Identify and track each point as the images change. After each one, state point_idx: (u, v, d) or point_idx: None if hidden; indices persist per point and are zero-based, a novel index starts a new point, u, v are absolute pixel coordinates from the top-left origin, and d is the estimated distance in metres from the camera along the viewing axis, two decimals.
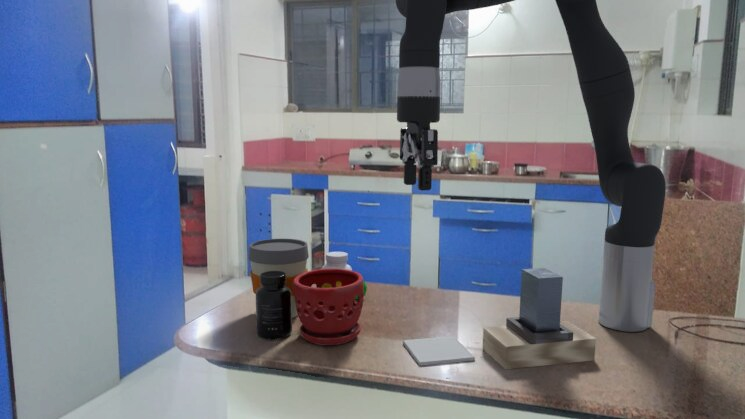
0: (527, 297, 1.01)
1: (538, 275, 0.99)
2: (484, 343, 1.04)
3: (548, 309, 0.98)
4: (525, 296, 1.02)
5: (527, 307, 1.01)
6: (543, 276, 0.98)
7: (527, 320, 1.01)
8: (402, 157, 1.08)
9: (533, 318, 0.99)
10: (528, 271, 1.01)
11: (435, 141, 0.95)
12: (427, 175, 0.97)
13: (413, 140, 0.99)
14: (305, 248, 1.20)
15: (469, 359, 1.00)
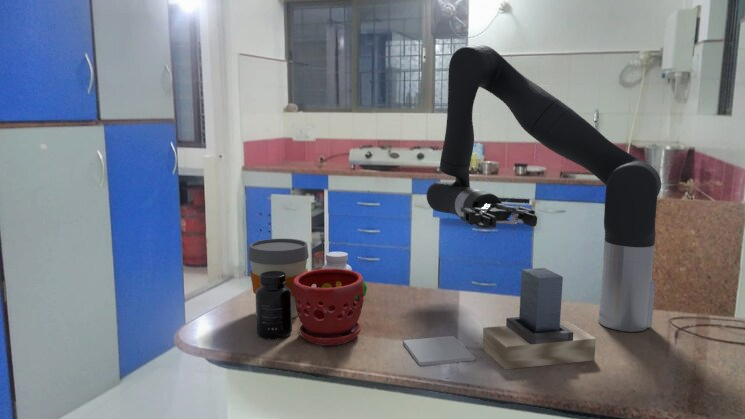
0: (527, 297, 1.01)
1: (538, 275, 0.99)
2: (484, 343, 1.04)
3: (548, 309, 0.98)
4: (525, 296, 1.02)
5: (527, 307, 1.01)
6: (543, 276, 0.98)
7: (527, 320, 1.01)
8: None
9: (533, 318, 0.99)
10: (528, 271, 1.01)
11: (463, 210, 1.16)
12: (483, 219, 1.11)
13: None
14: (305, 248, 1.20)
15: (469, 359, 1.00)
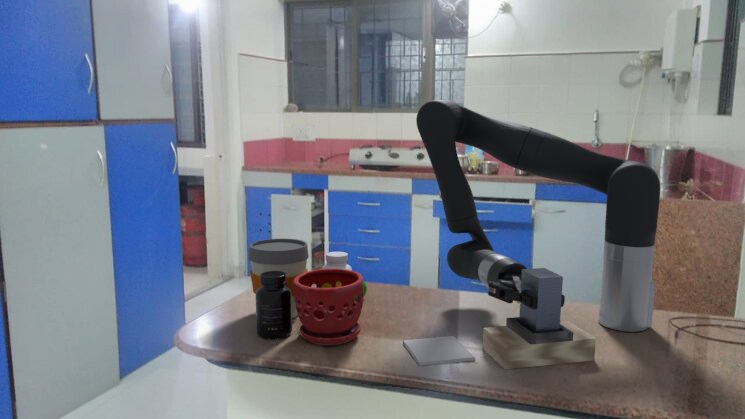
0: None
1: (538, 275, 0.99)
2: (484, 343, 1.04)
3: (548, 309, 0.98)
4: None
5: (527, 307, 1.01)
6: (543, 276, 0.98)
7: (527, 320, 1.01)
8: None
9: (533, 318, 0.99)
10: (528, 271, 1.01)
11: (494, 286, 1.05)
12: (522, 298, 1.00)
13: None
14: (305, 248, 1.20)
15: (469, 359, 1.00)
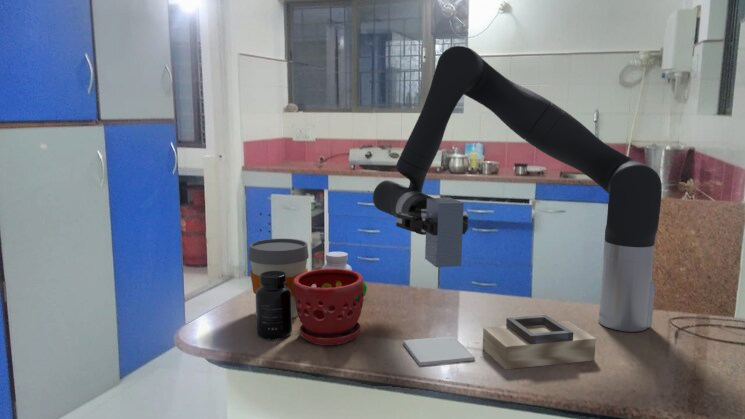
0: None
1: (439, 201, 0.98)
2: (484, 343, 1.04)
3: (449, 235, 0.97)
4: None
5: (430, 235, 1.00)
6: (444, 202, 0.97)
7: (430, 249, 1.00)
8: None
9: (435, 245, 0.98)
10: (432, 199, 1.00)
11: (400, 216, 1.04)
12: (424, 225, 0.99)
13: None
14: (305, 248, 1.20)
15: (469, 359, 1.00)
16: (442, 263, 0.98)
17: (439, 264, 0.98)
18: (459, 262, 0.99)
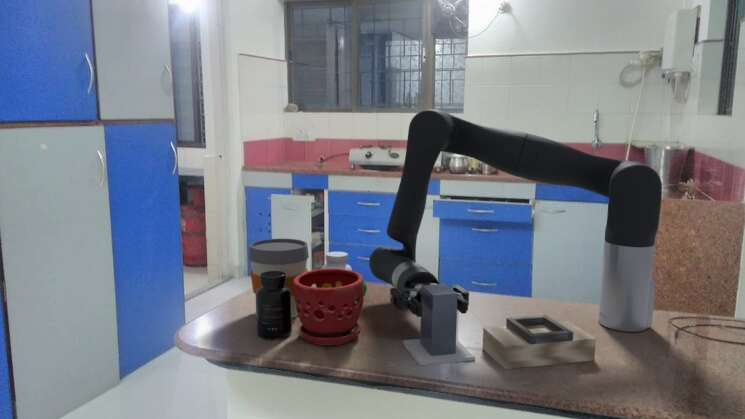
0: (425, 313, 1.02)
1: (434, 292, 1.00)
2: (484, 343, 1.04)
3: (444, 325, 1.00)
4: (424, 312, 1.03)
5: (425, 323, 1.03)
6: (438, 293, 1.00)
7: (425, 336, 1.03)
8: None
9: (430, 334, 1.00)
10: (426, 287, 1.03)
11: (392, 293, 1.07)
12: (410, 306, 1.02)
13: None
14: (305, 248, 1.20)
15: (469, 359, 1.00)
16: (437, 352, 1.00)
17: (434, 353, 1.00)
18: (453, 350, 1.01)
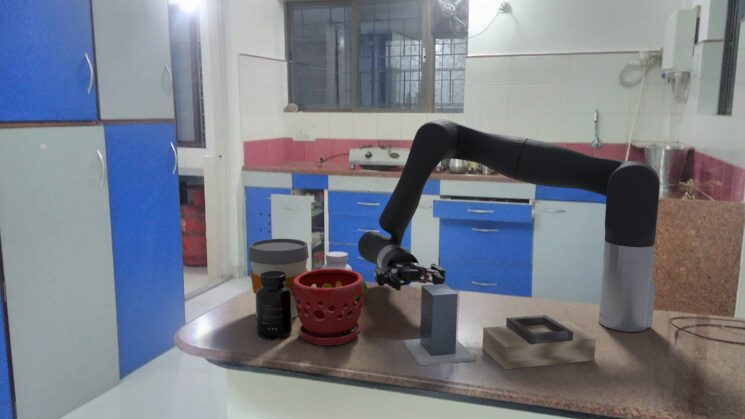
0: (425, 313, 1.02)
1: (434, 292, 1.00)
2: (484, 343, 1.04)
3: (444, 325, 1.00)
4: (424, 312, 1.03)
5: (425, 323, 1.03)
6: (438, 293, 1.00)
7: (425, 336, 1.03)
8: None
9: (430, 334, 1.00)
10: (426, 287, 1.03)
11: (375, 271, 1.19)
12: (390, 281, 1.14)
13: None
14: (305, 248, 1.20)
15: (469, 359, 1.00)
16: (437, 352, 1.00)
17: (434, 353, 1.00)
18: (453, 350, 1.01)
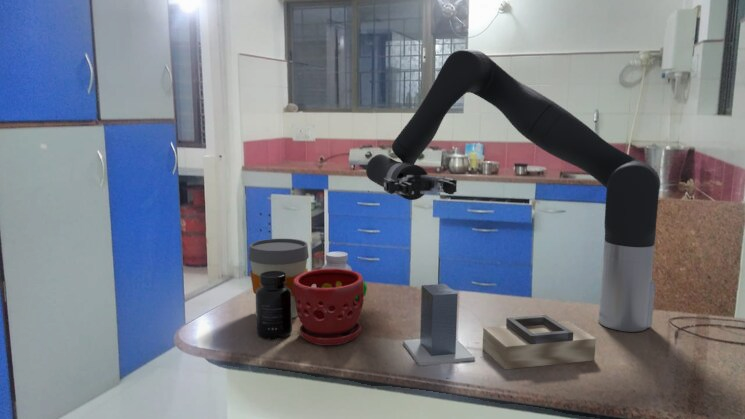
0: (425, 313, 1.02)
1: (434, 292, 1.00)
2: (484, 343, 1.04)
3: (444, 325, 1.00)
4: (424, 312, 1.03)
5: (425, 323, 1.03)
6: (438, 293, 1.00)
7: (425, 336, 1.03)
8: None
9: (430, 334, 1.00)
10: (426, 287, 1.03)
11: (385, 180, 1.17)
12: (401, 187, 1.12)
13: None
14: (305, 248, 1.20)
15: (469, 359, 1.00)
16: (437, 352, 1.00)
17: (434, 353, 1.00)
18: (453, 350, 1.01)
